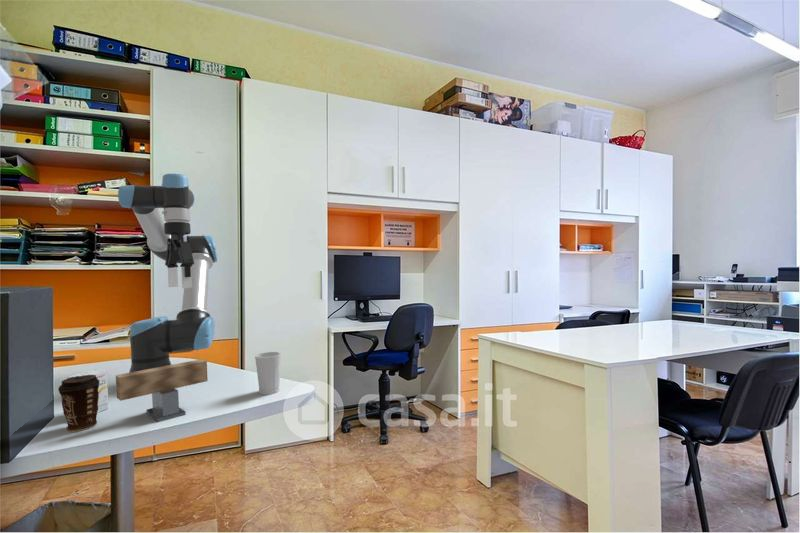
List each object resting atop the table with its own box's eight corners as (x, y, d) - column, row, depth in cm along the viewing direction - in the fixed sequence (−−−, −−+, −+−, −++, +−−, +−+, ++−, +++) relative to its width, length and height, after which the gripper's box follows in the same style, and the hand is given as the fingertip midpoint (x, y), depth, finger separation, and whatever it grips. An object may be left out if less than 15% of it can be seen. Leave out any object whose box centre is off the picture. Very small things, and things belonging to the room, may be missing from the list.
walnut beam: (120, 400, 107) (119, 377, 107) (116, 397, 110) (115, 375, 110) (207, 381, 123) (206, 361, 123) (202, 378, 125) (201, 359, 125)
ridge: (146, 412, 118) (145, 388, 118) (173, 405, 123) (172, 382, 123) (157, 422, 110) (156, 396, 110) (185, 414, 115) (184, 389, 115)
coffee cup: (77, 421, 112) (74, 374, 112) (109, 419, 113) (106, 372, 113) (52, 435, 104) (50, 383, 104) (87, 432, 104) (85, 381, 104)
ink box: (95, 408, 123) (93, 368, 123) (109, 408, 122) (107, 369, 122) (66, 419, 115) (64, 377, 114) (82, 420, 114) (80, 377, 113)
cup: (251, 392, 133) (250, 355, 133) (274, 386, 139) (272, 350, 139) (264, 397, 128) (262, 358, 128) (286, 390, 134) (285, 353, 133)
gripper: (153, 225, 140) (156, 287, 140) (177, 218, 122) (180, 289, 123) (177, 225, 145) (179, 285, 146) (203, 219, 128) (206, 287, 128)
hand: (180, 287), depth 134 cm, fingers open, 13 cm apart
